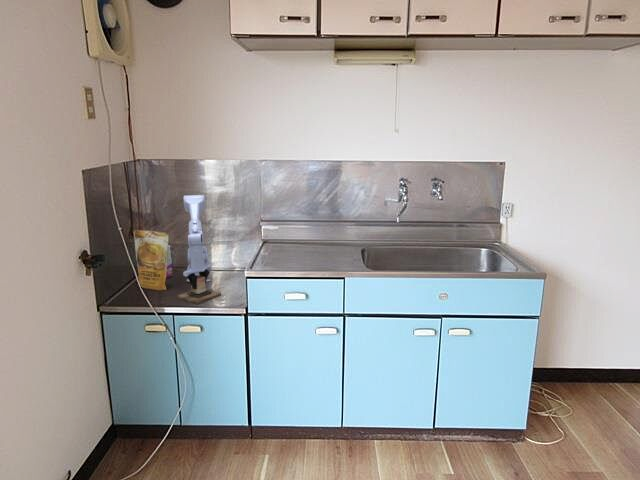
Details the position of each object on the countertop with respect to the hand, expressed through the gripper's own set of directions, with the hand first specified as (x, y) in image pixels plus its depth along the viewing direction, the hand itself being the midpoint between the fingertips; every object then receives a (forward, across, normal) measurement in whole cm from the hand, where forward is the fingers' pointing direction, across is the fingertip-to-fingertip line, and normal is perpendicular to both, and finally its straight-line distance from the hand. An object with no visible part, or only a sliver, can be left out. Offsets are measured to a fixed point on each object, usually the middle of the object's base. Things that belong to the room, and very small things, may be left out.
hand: (198, 287), depth 218 cm
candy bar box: (+5, +6, +37) cm, 38 cm away
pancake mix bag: (+5, -5, +28) cm, 29 cm away
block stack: (+2, 0, 0) cm, 2 cm away
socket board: (+4, 0, 0) cm, 4 cm away
